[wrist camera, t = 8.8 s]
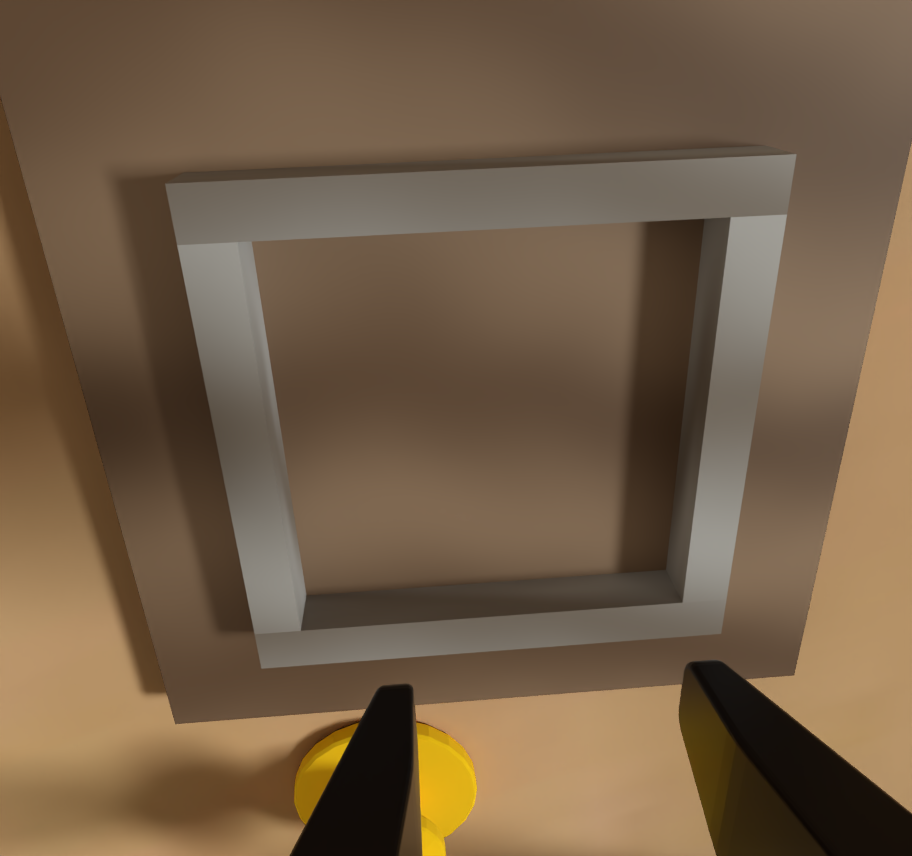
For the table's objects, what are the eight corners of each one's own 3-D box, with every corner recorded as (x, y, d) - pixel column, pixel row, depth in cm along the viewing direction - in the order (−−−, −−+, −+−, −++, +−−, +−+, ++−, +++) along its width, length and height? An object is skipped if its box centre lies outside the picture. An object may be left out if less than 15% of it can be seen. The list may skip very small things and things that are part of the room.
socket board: (777, 648, 21) (816, 710, 19) (185, 693, 20) (162, 763, 18) (914, -30, 14) (1000, -42, 12) (2, 2, 13) (-67, -5, 11)
